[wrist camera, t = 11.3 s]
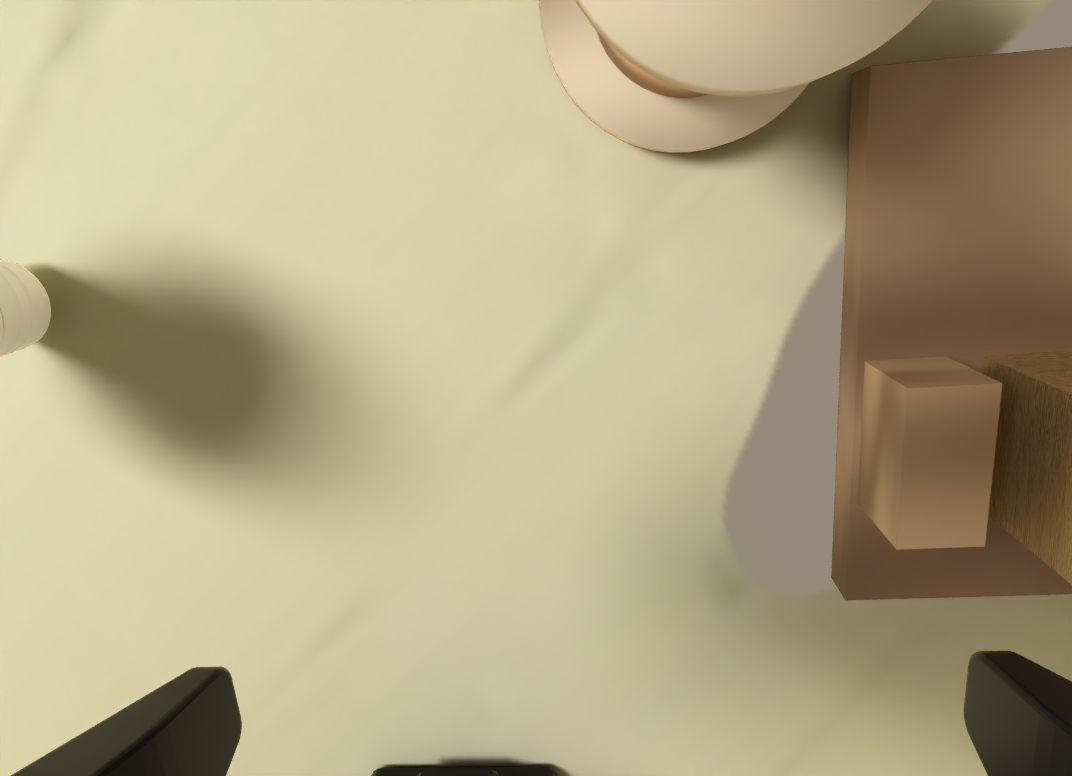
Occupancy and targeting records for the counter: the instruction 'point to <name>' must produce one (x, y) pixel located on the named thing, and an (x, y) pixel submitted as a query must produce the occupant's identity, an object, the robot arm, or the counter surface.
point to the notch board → (946, 313)
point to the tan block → (1034, 453)
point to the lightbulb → (21, 308)
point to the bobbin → (705, 60)
